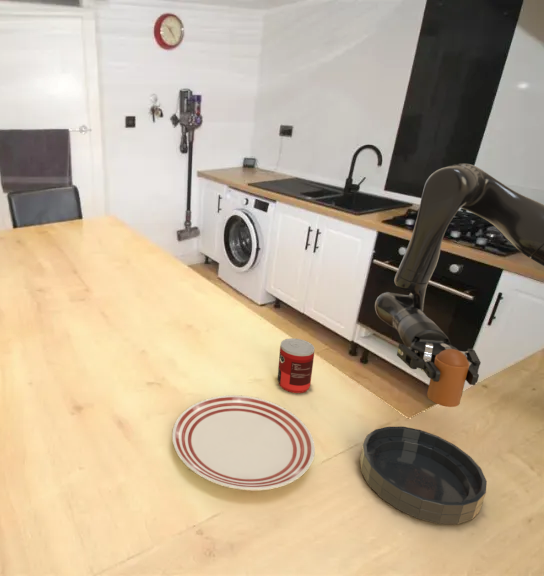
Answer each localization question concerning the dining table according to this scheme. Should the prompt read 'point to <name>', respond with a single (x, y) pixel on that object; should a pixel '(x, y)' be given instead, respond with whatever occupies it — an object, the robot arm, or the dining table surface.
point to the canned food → (295, 365)
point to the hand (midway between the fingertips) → (455, 378)
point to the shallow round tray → (423, 475)
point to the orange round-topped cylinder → (449, 378)
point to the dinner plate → (243, 442)
